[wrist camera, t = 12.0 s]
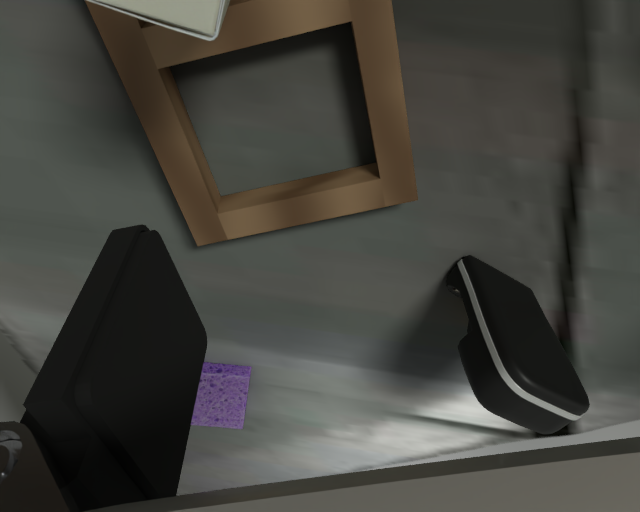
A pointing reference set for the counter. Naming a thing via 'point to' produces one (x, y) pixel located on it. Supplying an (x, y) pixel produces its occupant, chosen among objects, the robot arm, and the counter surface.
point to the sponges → (222, 396)
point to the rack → (243, 31)
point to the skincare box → (176, 14)
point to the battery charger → (514, 351)
